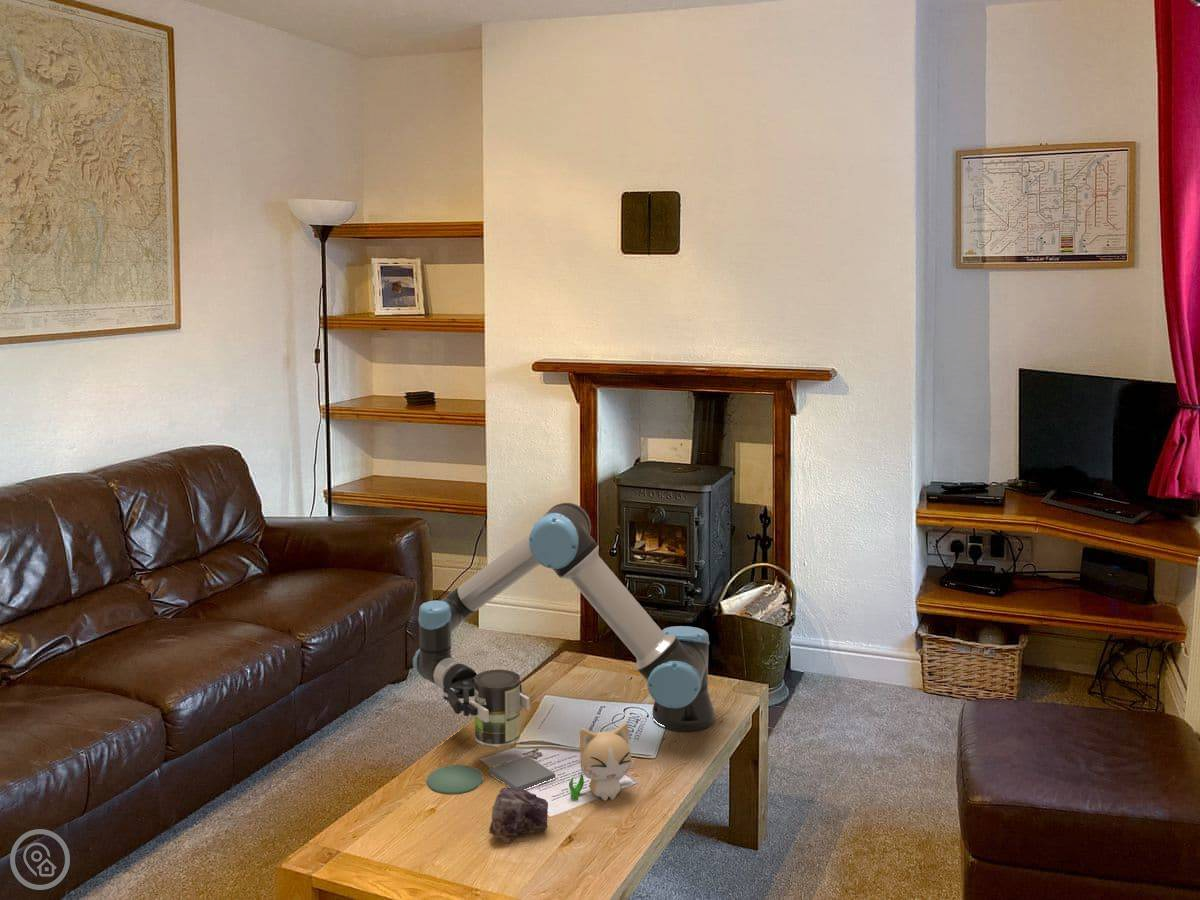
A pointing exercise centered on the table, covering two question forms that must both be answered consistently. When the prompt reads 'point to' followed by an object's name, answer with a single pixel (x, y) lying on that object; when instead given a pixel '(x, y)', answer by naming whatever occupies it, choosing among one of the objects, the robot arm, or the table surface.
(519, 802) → the rock
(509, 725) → the coffee can
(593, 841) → the table surface
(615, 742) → the kitten
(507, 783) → the slate tile
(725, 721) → the table surface
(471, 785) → the coaster
